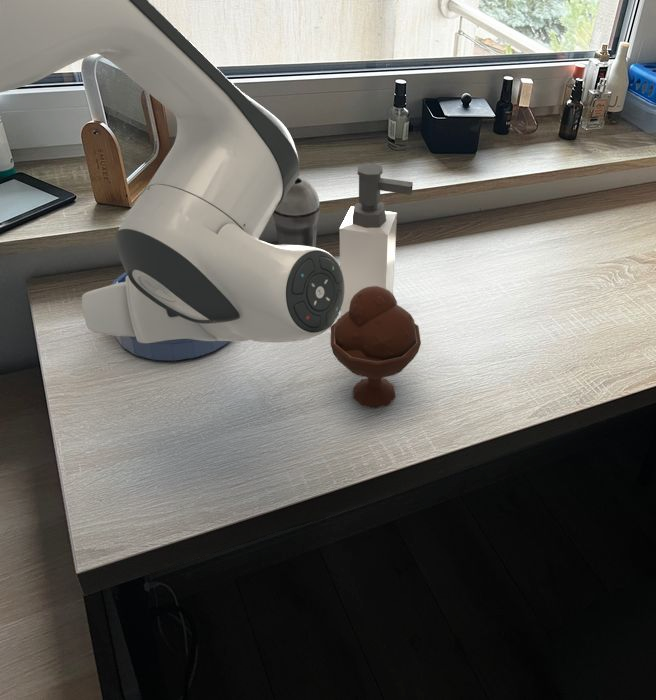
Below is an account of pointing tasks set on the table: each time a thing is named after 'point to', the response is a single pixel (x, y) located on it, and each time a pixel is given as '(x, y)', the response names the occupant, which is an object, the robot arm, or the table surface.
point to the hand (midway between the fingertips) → (158, 298)
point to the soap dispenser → (369, 235)
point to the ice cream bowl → (375, 343)
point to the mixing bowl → (167, 344)
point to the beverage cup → (298, 215)
